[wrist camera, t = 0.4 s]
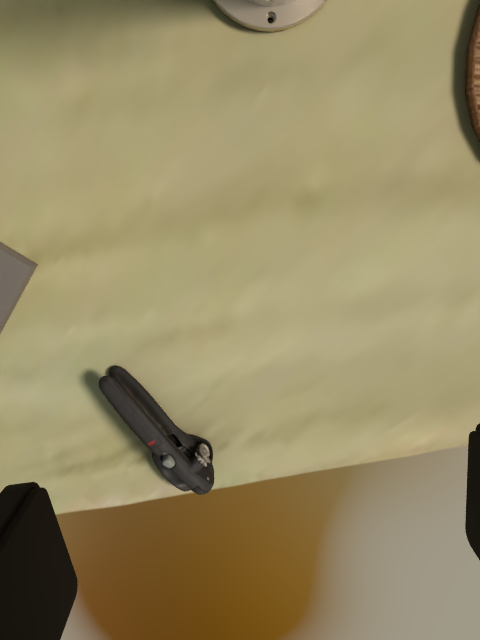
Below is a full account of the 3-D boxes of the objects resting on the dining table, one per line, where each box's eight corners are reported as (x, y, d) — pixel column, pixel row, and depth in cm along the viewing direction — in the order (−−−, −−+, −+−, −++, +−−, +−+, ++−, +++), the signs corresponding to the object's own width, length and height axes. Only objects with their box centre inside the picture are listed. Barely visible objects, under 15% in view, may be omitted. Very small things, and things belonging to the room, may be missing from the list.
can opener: (230, 457, 52) (230, 490, 47) (183, 485, 54) (178, 520, 48) (136, 346, 47) (124, 368, 42) (87, 379, 49) (70, 405, 43)
